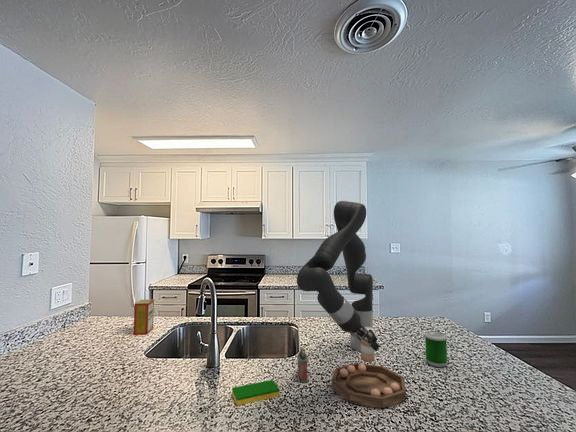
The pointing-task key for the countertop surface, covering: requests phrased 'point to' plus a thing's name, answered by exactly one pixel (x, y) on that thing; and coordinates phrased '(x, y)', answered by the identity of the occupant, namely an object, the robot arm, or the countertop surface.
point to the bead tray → (369, 386)
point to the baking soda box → (143, 317)
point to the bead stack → (367, 350)
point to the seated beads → (374, 392)
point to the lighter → (302, 366)
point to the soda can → (436, 348)
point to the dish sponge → (255, 392)
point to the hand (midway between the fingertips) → (371, 345)
